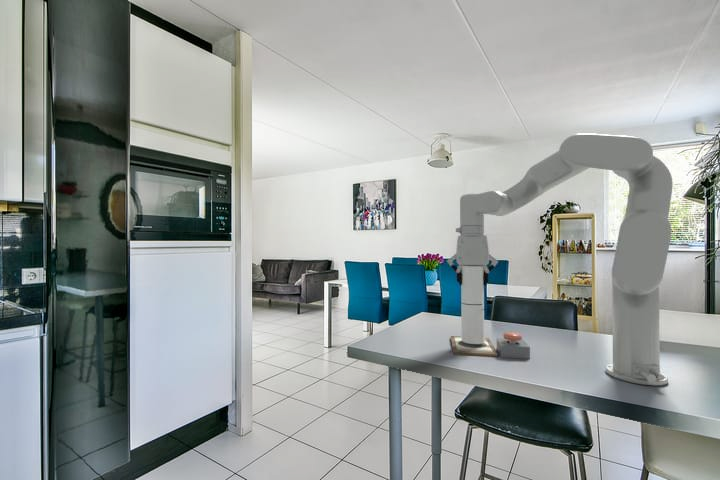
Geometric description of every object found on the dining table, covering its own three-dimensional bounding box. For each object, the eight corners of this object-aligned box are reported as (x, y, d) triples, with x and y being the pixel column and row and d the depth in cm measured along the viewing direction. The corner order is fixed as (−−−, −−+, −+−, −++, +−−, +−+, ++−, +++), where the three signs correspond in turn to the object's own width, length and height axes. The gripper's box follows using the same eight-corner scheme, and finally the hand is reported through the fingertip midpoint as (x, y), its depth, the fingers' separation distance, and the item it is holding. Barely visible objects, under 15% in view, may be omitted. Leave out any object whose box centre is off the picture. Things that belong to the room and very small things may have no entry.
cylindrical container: (457, 339, 117) (456, 265, 117) (474, 337, 120) (473, 264, 120) (470, 345, 110) (470, 266, 111) (488, 342, 113) (488, 266, 113)
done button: (523, 349, 105) (523, 337, 105) (505, 347, 106) (505, 336, 106) (519, 344, 110) (519, 332, 110) (502, 343, 111) (502, 331, 111)
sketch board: (497, 356, 105) (497, 353, 105) (453, 353, 108) (453, 350, 108) (488, 340, 123) (488, 337, 123) (450, 338, 125) (450, 335, 125)
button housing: (529, 358, 103) (529, 347, 103) (501, 357, 105) (501, 345, 105) (523, 350, 111) (523, 339, 111) (496, 348, 113) (496, 338, 113)
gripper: (445, 231, 113) (445, 285, 113) (501, 230, 110) (502, 286, 110) (444, 232, 121) (445, 283, 121) (497, 231, 117) (498, 283, 117)
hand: (472, 284), depth 115 cm, fingers closed on cylindrical container, 7 cm apart
